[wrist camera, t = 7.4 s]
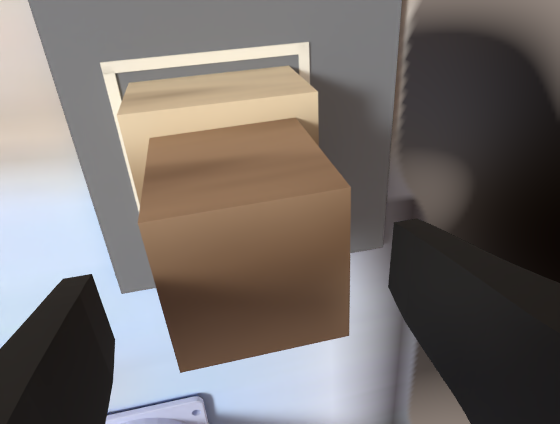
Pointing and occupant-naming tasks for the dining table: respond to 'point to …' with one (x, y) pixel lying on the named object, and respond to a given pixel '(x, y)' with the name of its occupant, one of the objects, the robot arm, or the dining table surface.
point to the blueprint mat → (218, 59)
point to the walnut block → (246, 241)
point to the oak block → (211, 107)
